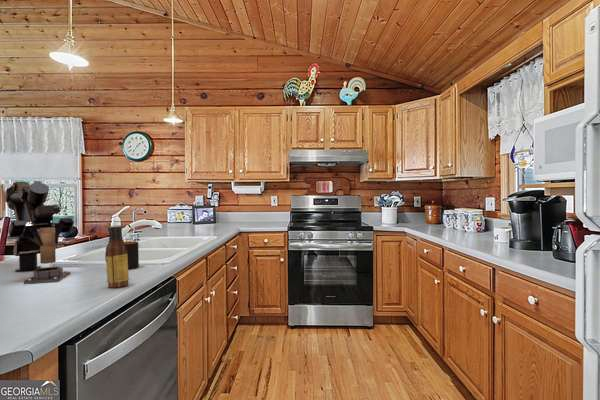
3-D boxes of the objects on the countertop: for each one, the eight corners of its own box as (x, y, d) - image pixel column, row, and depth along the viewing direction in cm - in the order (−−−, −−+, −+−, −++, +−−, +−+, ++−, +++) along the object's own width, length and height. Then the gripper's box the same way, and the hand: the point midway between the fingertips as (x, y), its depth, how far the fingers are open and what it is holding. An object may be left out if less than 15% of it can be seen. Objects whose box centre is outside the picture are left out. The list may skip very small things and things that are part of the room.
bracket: (39, 276, 128) (39, 266, 128) (70, 274, 131) (70, 264, 131) (23, 284, 117) (23, 273, 117) (58, 281, 120) (58, 271, 120)
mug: (105, 268, 141) (104, 243, 141) (137, 265, 147) (137, 240, 147) (106, 272, 134) (105, 245, 134) (139, 268, 140) (139, 243, 140)
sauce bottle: (132, 283, 117) (131, 225, 117) (123, 288, 111) (122, 226, 111) (112, 283, 117) (111, 225, 117) (102, 288, 111) (101, 227, 111)
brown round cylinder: (45, 261, 126) (44, 227, 126) (58, 261, 126) (57, 226, 126) (37, 263, 121) (36, 228, 121) (51, 263, 122) (50, 228, 122)
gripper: (10, 197, 118) (22, 232, 112) (71, 197, 133) (84, 227, 127) (3, 219, 123) (14, 253, 117) (63, 216, 138) (75, 246, 132)
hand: (49, 244), depth 123 cm, fingers closed on brown round cylinder, 4 cm apart
